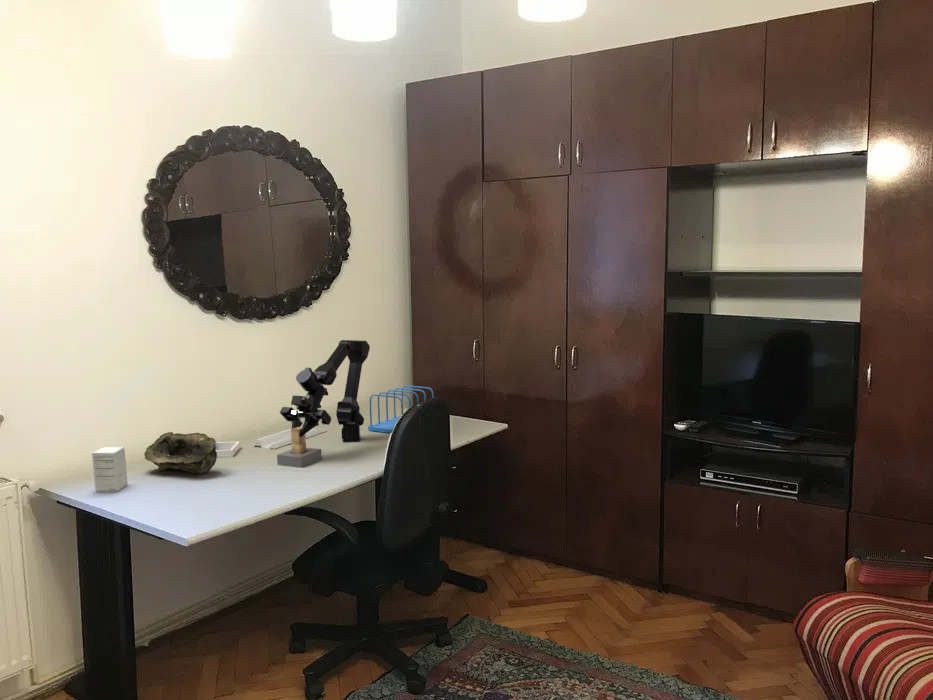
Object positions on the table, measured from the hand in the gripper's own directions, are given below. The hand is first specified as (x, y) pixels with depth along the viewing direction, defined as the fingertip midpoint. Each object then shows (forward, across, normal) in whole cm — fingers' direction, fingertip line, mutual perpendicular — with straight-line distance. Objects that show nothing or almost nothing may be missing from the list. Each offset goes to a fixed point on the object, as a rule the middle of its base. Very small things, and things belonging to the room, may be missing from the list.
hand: (296, 435), depth 277 cm
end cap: (+6, 0, +8) cm, 10 cm away
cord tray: (+6, -36, +7) cm, 37 cm away
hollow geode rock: (+23, -29, -10) cm, 39 cm away
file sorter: (-36, +7, +51) cm, 63 cm away
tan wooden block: (+4, 0, +6) cm, 8 cm away
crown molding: (-12, -25, +27) cm, 39 cm away
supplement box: (+39, -38, -26) cm, 60 cm away
